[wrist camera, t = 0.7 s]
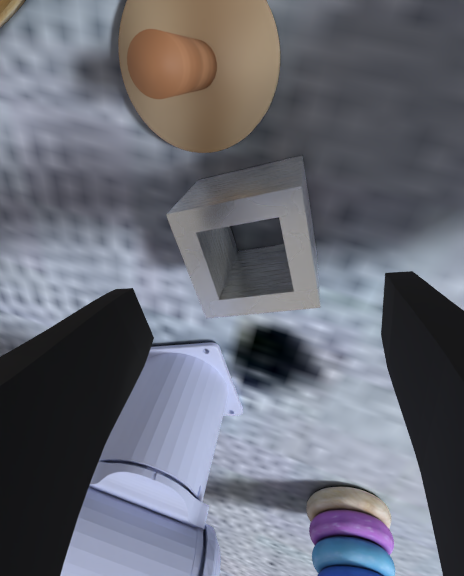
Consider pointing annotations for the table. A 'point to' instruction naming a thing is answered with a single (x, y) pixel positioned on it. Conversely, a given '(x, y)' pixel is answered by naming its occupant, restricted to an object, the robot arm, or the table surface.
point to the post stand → (200, 68)
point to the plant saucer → (9, 9)
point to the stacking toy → (350, 533)
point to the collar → (253, 262)
